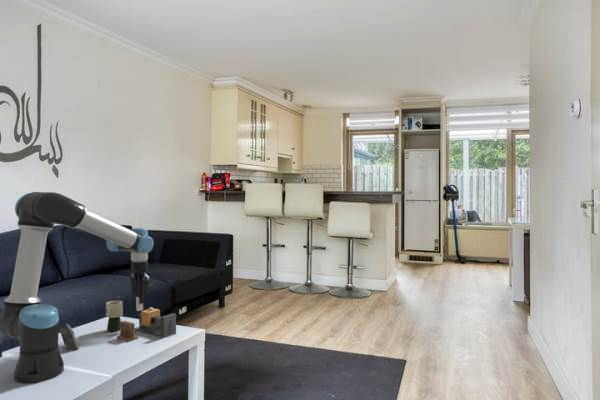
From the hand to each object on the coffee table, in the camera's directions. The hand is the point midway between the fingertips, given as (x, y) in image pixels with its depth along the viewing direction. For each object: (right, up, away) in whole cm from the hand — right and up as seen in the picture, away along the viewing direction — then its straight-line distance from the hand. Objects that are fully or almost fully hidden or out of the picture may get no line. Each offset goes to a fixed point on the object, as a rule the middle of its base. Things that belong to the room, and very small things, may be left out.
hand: (139, 310), depth 202 cm
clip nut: (+7, -5, -4) cm, 9 cm away
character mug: (-10, -9, -3) cm, 14 cm away
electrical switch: (-19, -9, -26) cm, 34 cm away
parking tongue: (0, -9, -15) cm, 17 cm away
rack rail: (+9, -9, -6) cm, 14 cm away
